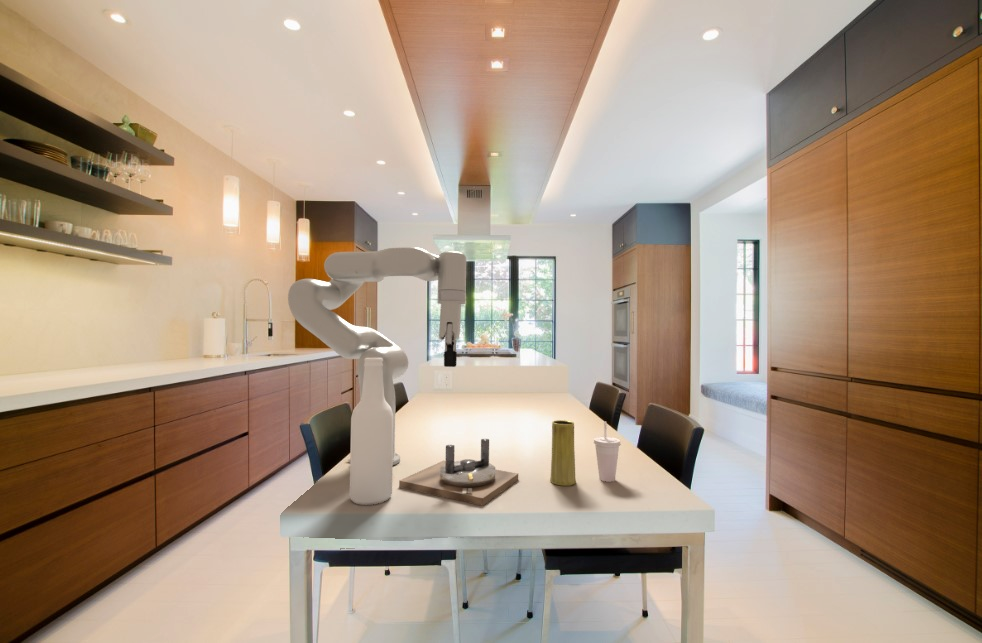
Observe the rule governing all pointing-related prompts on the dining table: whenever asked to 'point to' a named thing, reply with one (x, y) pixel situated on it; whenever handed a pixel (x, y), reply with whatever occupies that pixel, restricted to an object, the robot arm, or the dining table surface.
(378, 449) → the alcohol
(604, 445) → the smoothie
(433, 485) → the stand board
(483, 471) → the dial
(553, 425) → the vase
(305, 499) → the dining table surface
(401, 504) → the dining table surface
